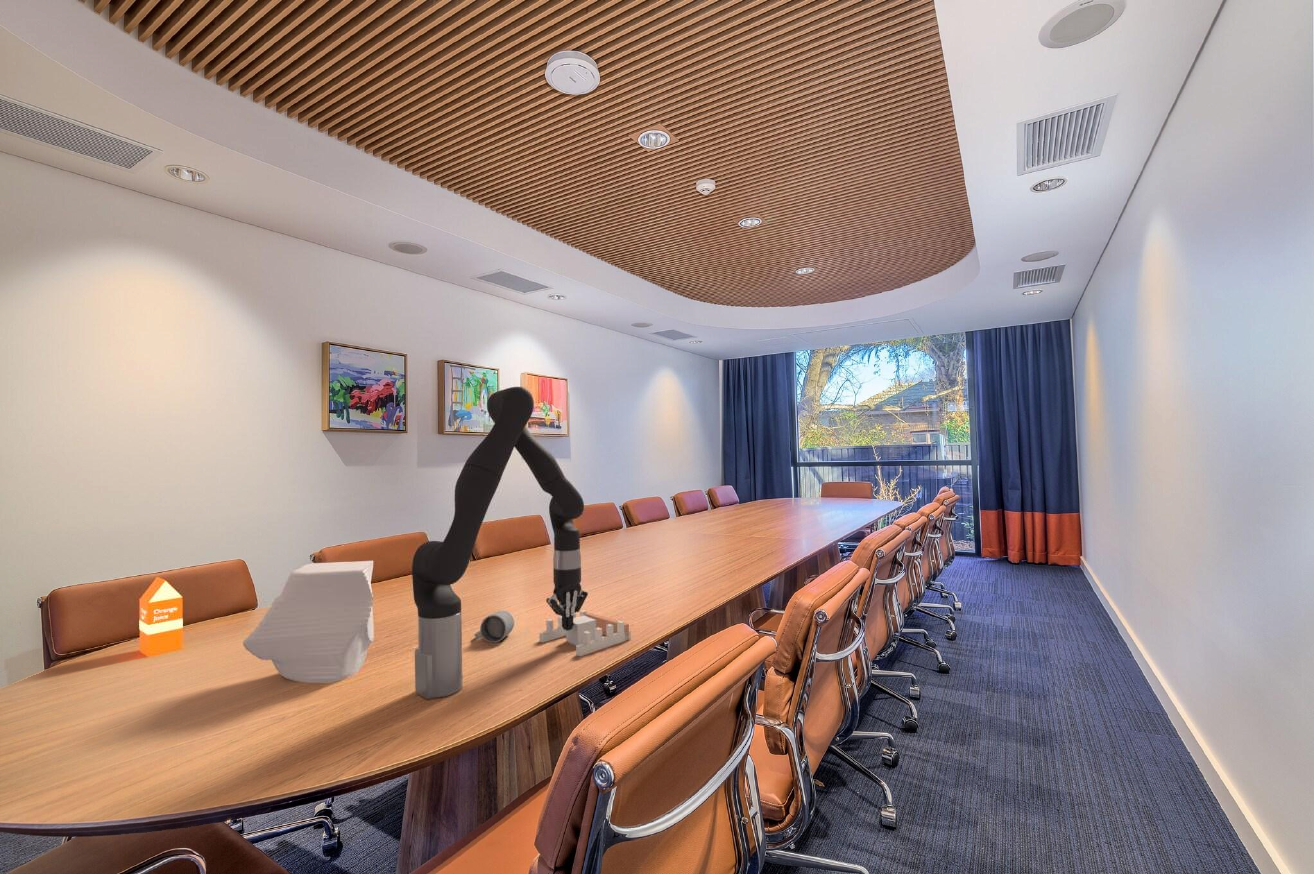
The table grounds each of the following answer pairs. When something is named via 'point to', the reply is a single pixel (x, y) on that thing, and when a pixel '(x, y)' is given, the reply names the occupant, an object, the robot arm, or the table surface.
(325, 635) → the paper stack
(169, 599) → the orange juice
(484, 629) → the ceramic mug
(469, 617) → the table surface
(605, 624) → the notched wall frame
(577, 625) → the white cube
